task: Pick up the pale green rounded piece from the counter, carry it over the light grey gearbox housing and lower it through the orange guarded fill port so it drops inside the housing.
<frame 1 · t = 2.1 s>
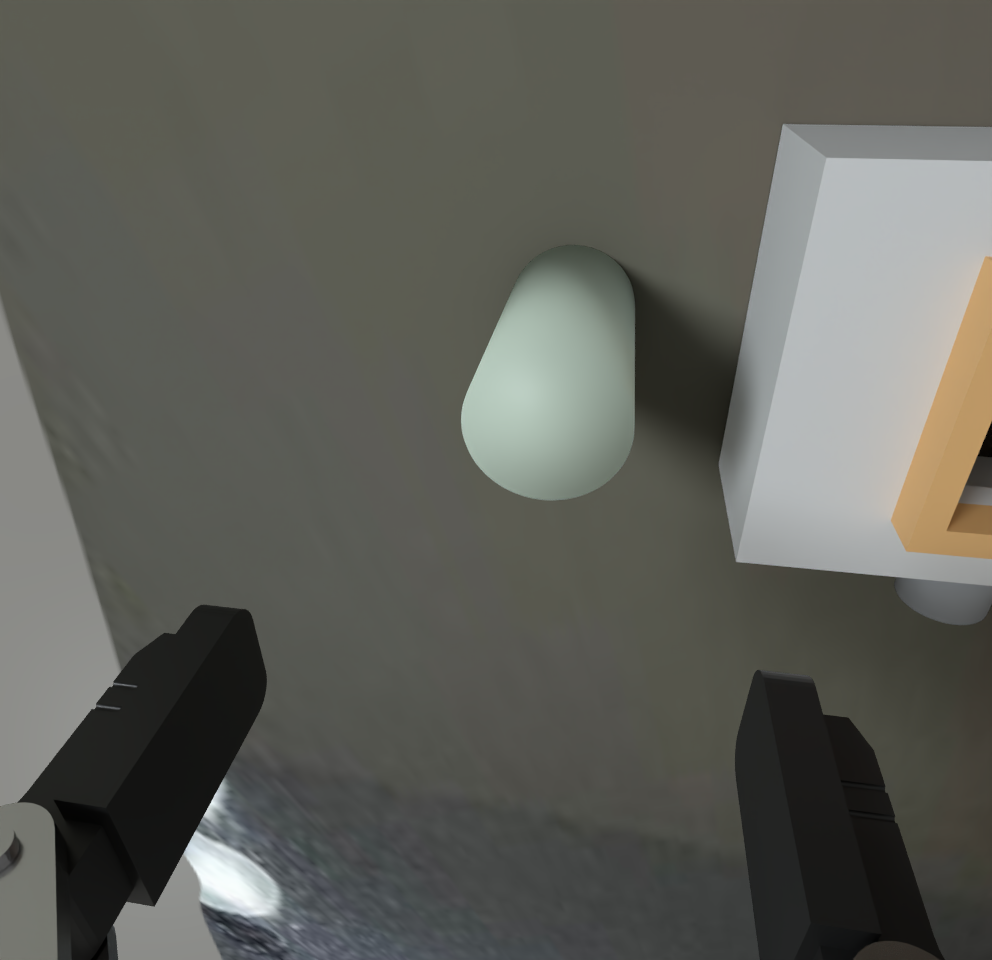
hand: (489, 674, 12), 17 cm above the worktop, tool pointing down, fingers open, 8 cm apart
pale green rounded piece: (572, 307, 26), on the worktop
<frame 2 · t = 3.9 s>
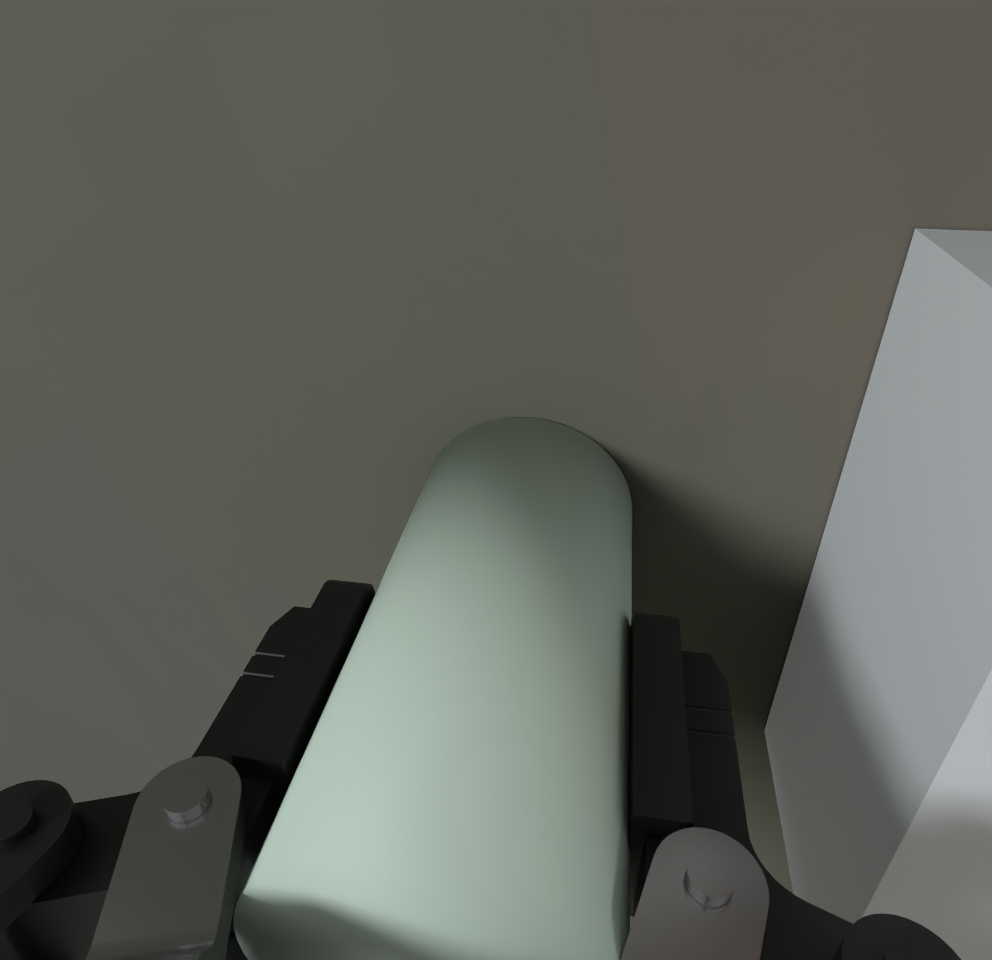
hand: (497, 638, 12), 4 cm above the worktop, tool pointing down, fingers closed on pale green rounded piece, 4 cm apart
pale green rounded piece: (527, 509, 15), on the worktop, touching gripper
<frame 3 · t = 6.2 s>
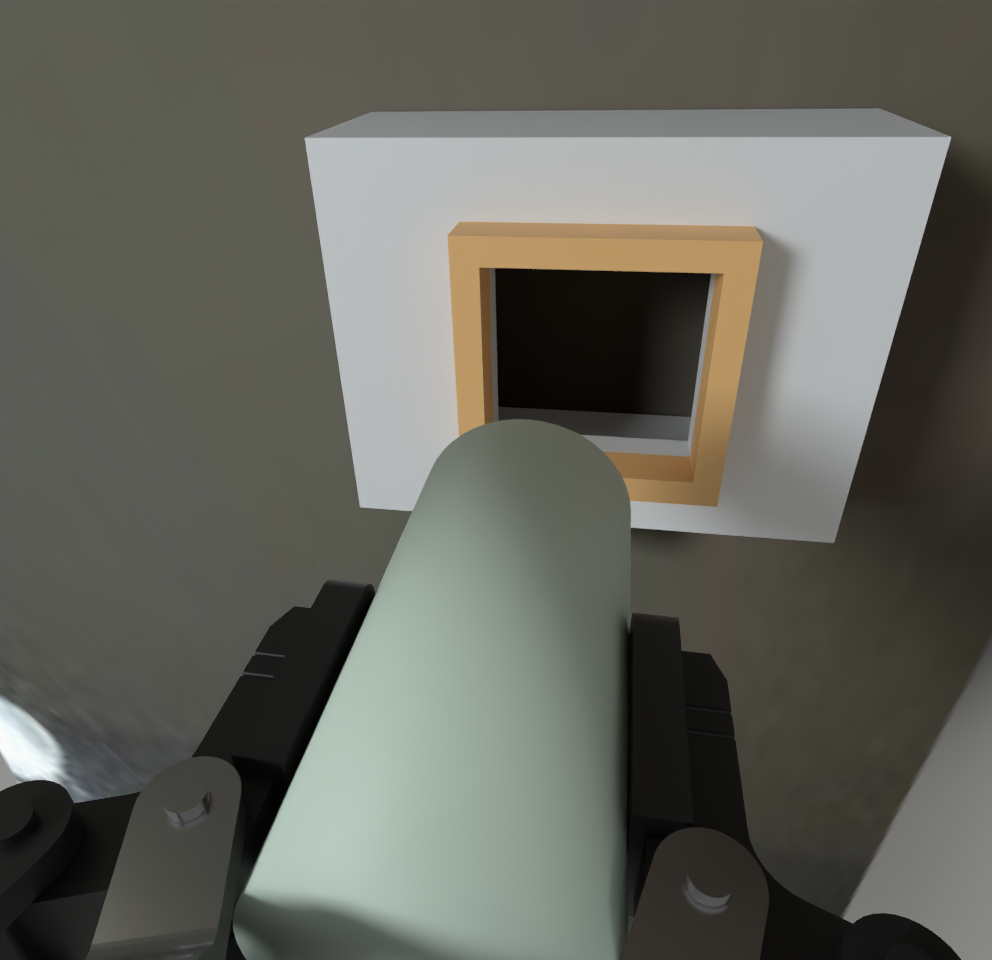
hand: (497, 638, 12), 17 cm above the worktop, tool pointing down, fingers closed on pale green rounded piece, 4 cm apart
pale green rounded piece: (526, 510, 15), point 14 cm above the worktop, touching gripper
gearbox: (602, 294, 26), on the worktop
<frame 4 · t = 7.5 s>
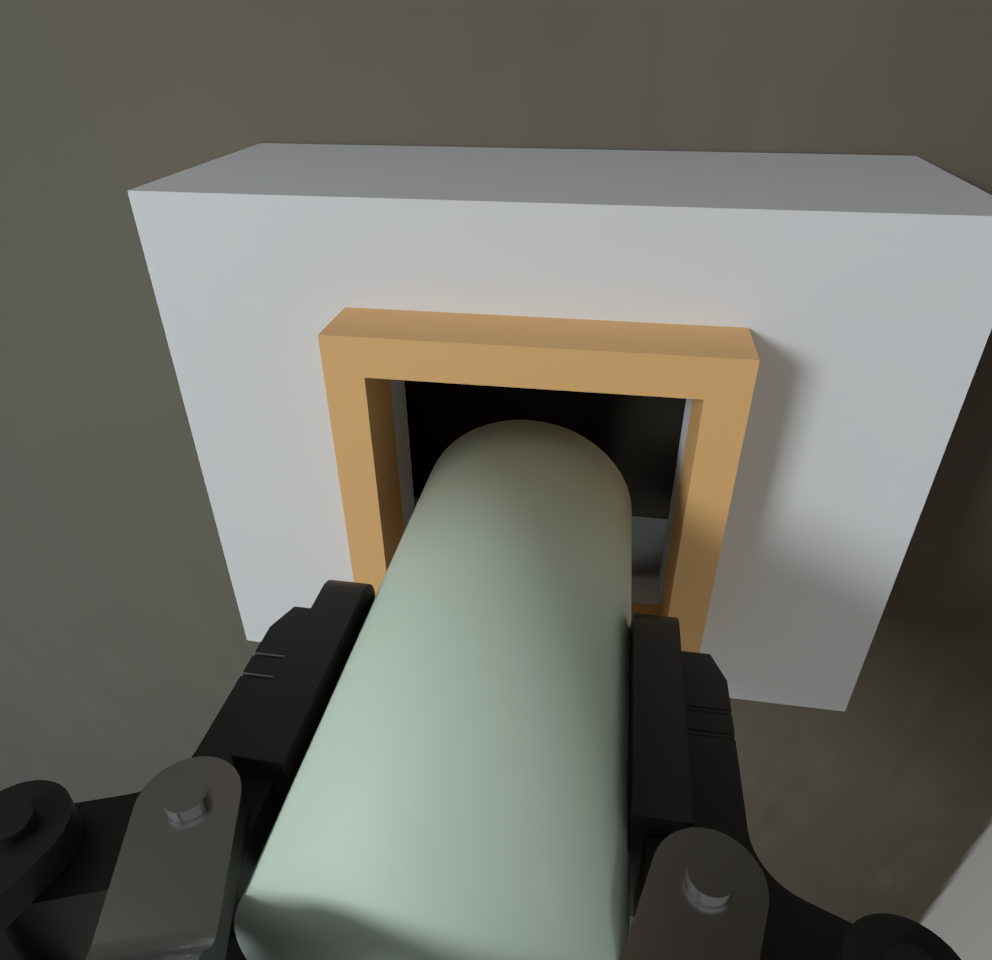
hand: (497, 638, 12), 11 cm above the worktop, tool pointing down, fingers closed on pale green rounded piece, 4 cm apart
pale green rounded piece: (526, 511, 15), point 7 cm above the worktop, touching gripper
gearbox: (558, 373, 21), on the worktop
when the fingers open (9 cm above the worktop, at t = 8.6 s): pale green rounded piece drops 5 cm, resting in gearbox.
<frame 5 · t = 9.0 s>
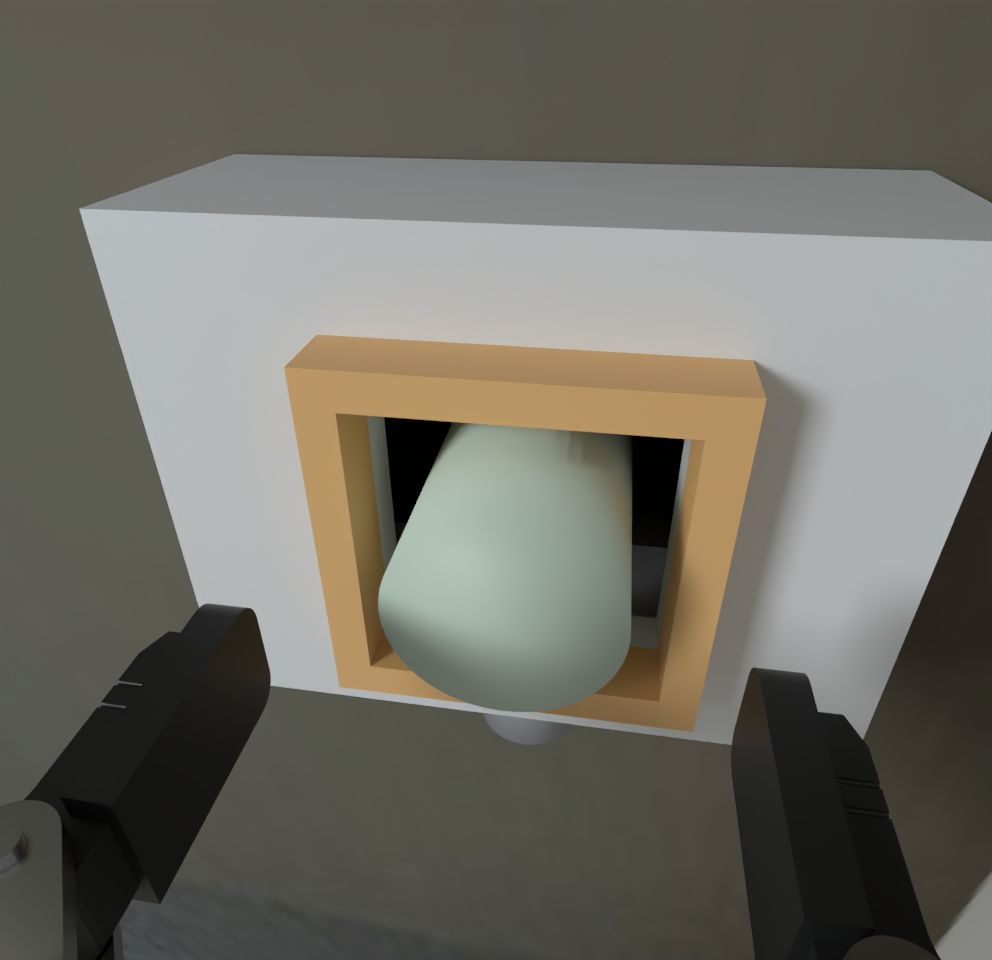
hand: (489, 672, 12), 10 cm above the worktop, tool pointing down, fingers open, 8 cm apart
pale green rounded piece: (551, 396, 20), resting in gearbox
gearbox: (550, 396, 20), on the worktop
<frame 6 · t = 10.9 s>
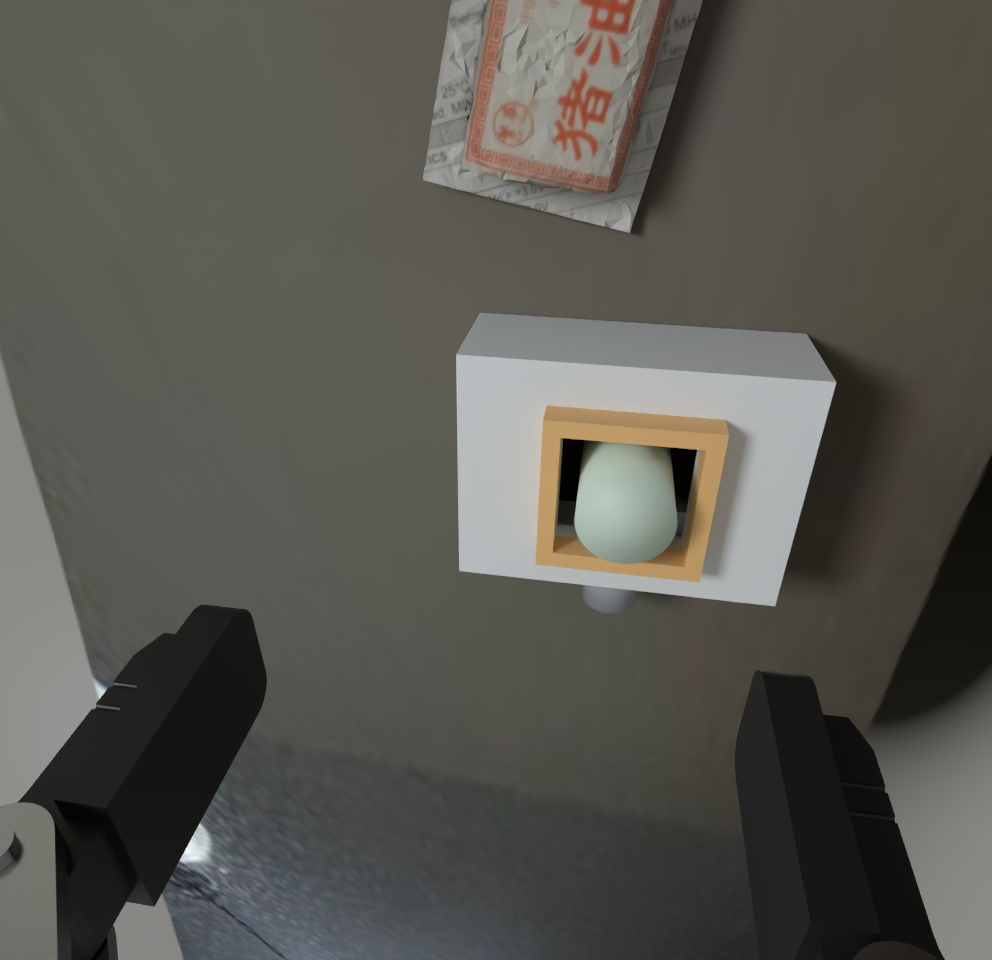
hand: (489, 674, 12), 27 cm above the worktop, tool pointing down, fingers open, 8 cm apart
pale green rounded piece: (626, 430, 39), resting in gearbox
gearbox: (625, 430, 39), on the worktop
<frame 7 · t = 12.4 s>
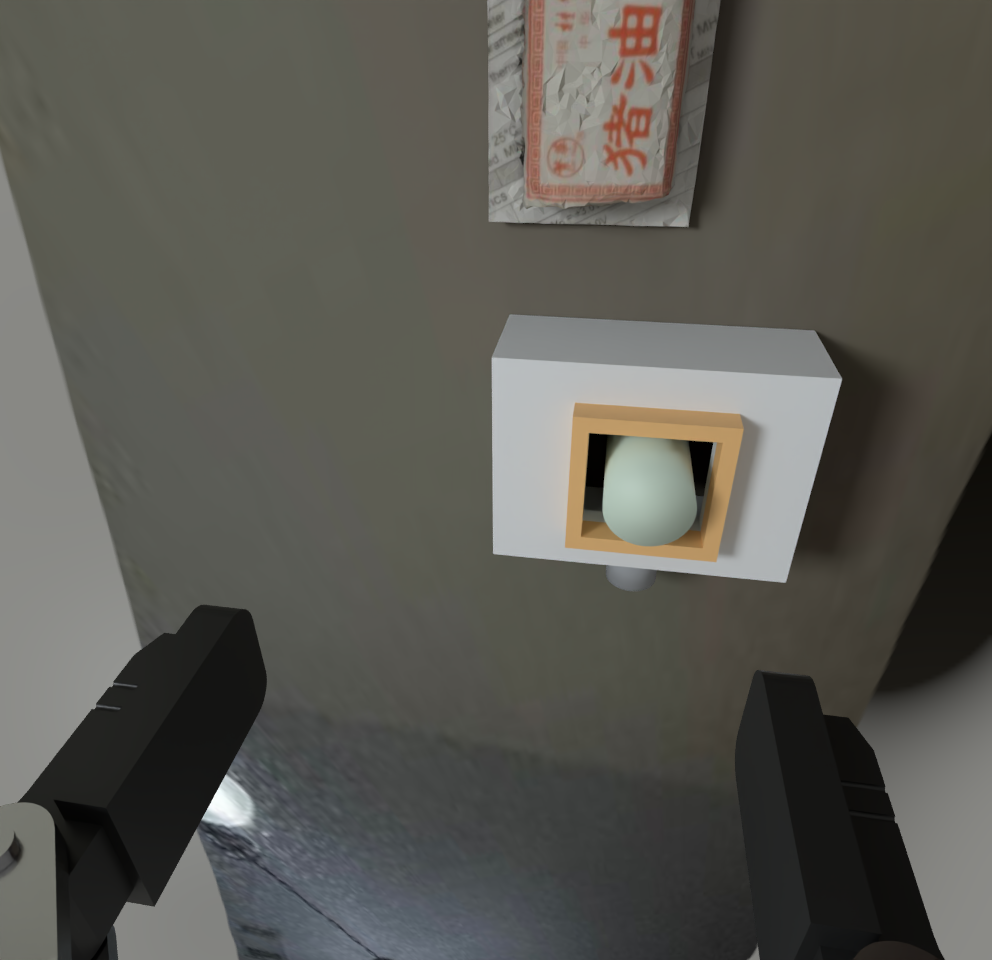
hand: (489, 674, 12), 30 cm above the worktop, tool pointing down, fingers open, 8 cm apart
packaged product: (602, 10, 32), on the worktop
pale green rounded piece: (646, 421, 42), resting in gearbox
gearbox: (645, 421, 42), on the worktop
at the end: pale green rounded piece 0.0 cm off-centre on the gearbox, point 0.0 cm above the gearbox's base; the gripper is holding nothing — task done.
